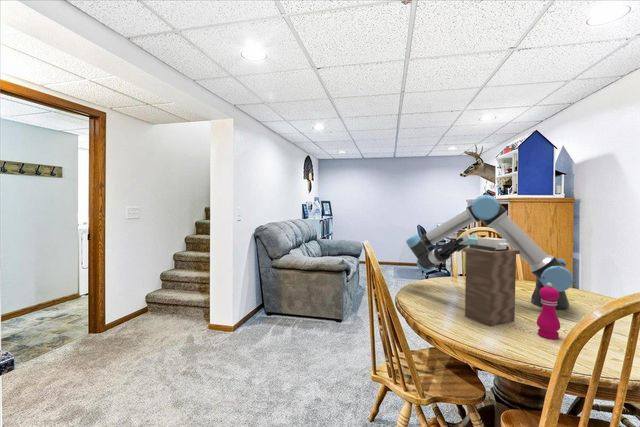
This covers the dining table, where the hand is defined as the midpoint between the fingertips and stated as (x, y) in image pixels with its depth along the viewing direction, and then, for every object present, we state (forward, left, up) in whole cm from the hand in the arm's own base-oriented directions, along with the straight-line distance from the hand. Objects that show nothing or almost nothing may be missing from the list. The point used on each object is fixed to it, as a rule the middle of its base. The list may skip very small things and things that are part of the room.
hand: (472, 235), depth 144 cm
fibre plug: (0, +5, -4) cm, 7 cm away
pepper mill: (-5, +30, -35) cm, 47 cm away
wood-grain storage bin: (0, +9, -35) cm, 36 cm away
